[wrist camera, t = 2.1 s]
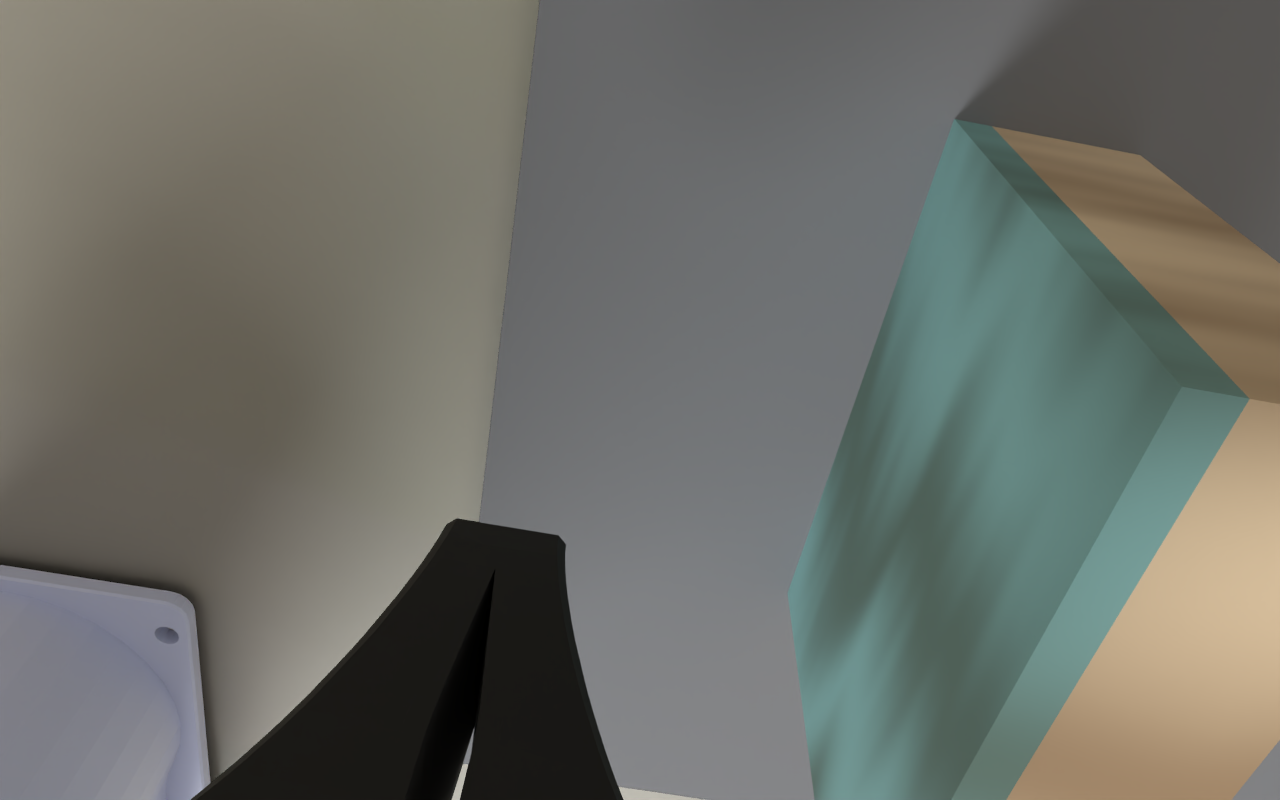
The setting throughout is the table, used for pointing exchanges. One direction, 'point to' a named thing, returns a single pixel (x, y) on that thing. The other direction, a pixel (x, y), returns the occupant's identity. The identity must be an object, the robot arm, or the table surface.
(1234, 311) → the teal and tan block
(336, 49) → the table surface
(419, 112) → the table surface
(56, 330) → the table surface
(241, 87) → the table surface
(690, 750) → the mat
